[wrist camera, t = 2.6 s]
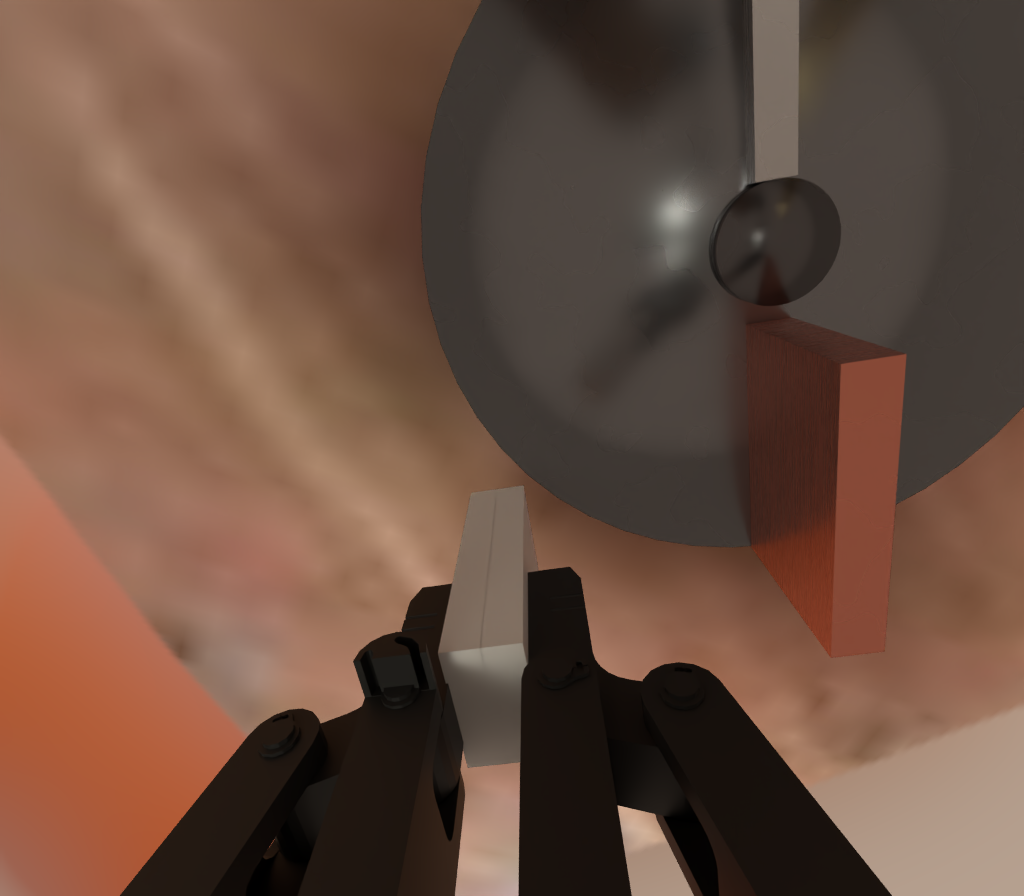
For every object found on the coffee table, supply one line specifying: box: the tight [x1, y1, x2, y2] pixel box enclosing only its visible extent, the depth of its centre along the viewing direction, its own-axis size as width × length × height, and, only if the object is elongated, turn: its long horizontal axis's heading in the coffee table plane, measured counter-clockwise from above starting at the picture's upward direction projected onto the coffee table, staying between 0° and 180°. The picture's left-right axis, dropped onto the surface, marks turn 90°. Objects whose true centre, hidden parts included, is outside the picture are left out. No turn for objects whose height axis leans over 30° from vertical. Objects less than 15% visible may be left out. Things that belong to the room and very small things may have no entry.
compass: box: [421, 0, 1024, 658], centre depth 13 cm, size 18×18×7 cm
